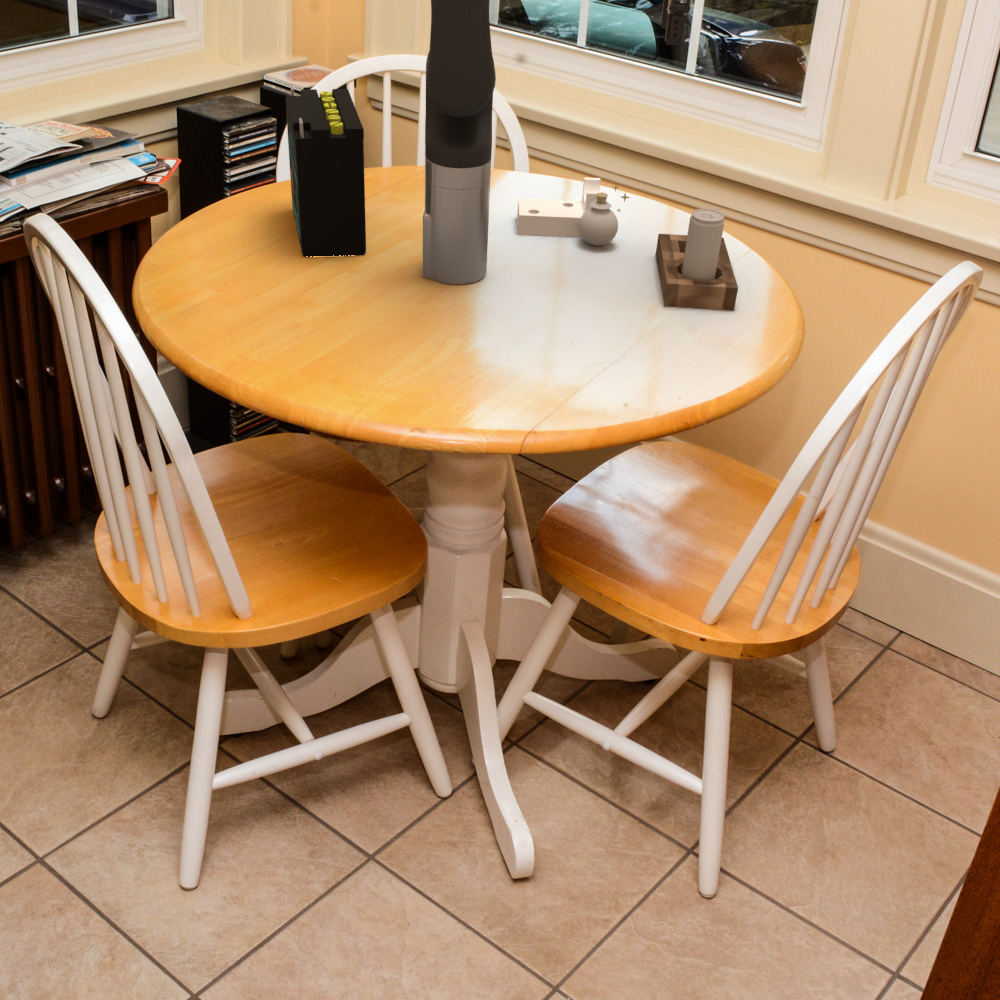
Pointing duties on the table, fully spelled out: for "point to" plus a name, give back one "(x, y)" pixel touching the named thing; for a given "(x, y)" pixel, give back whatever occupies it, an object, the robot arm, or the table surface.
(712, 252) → the beverage can
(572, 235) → the bracket
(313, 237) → the battery
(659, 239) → the walnut bore block
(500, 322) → the table surface
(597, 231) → the round potion bottle
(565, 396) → the table surface
